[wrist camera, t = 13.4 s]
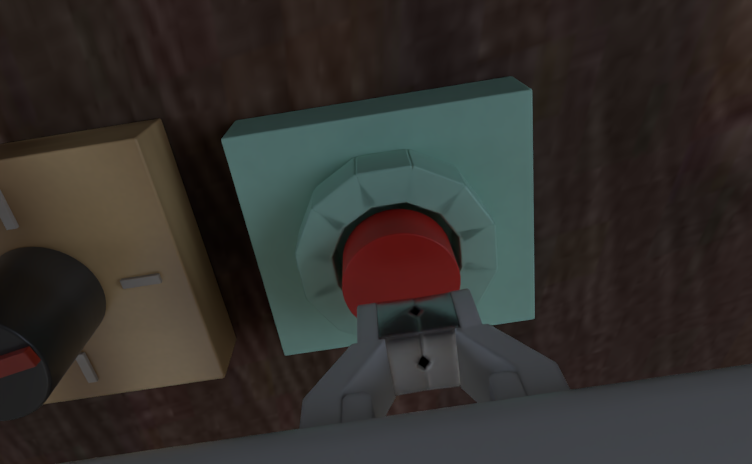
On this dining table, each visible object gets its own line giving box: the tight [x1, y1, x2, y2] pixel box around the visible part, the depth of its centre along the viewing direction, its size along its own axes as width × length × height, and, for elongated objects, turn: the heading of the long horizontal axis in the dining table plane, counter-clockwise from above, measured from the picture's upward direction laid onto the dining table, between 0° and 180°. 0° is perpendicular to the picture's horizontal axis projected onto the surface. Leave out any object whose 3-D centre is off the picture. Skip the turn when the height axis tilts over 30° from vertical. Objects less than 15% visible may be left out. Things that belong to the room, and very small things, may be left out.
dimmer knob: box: [0, 247, 106, 421], centre depth 17 cm, size 4×4×4 cm
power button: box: [342, 209, 461, 318], centre depth 16 cm, size 4×4×2 cm
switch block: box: [221, 76, 535, 355], centre depth 19 cm, size 10×9×4 cm
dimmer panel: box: [0, 119, 236, 404], centre depth 20 cm, size 12×10×3 cm
